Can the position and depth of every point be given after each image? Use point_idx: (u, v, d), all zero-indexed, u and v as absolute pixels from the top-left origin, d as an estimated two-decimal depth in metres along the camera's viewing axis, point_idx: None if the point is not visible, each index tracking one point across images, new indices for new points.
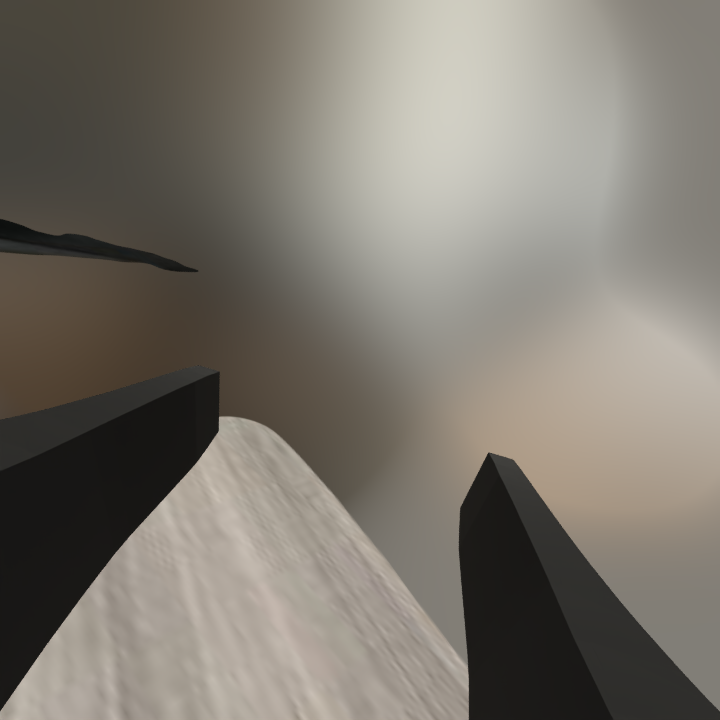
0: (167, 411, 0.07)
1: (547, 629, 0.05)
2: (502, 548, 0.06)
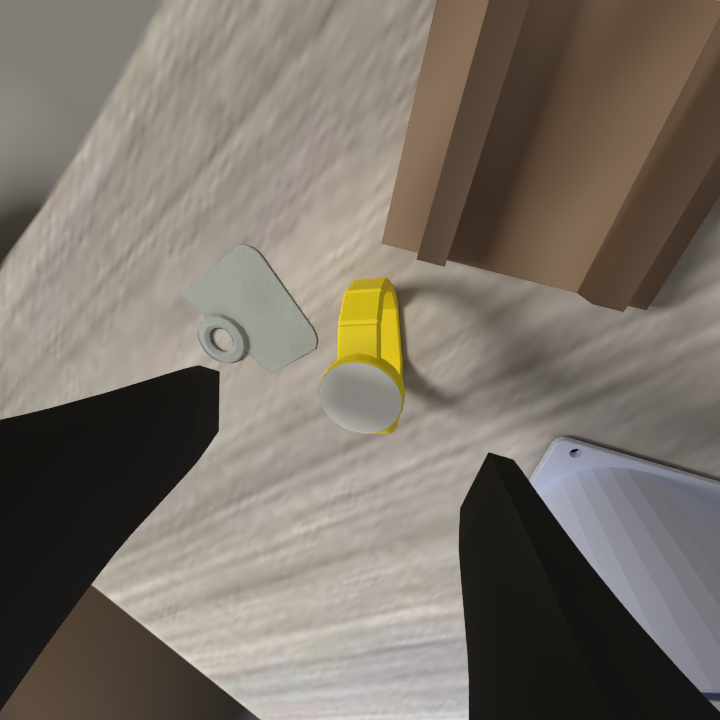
0: (167, 411, 0.07)
1: (547, 629, 0.05)
2: (502, 548, 0.06)
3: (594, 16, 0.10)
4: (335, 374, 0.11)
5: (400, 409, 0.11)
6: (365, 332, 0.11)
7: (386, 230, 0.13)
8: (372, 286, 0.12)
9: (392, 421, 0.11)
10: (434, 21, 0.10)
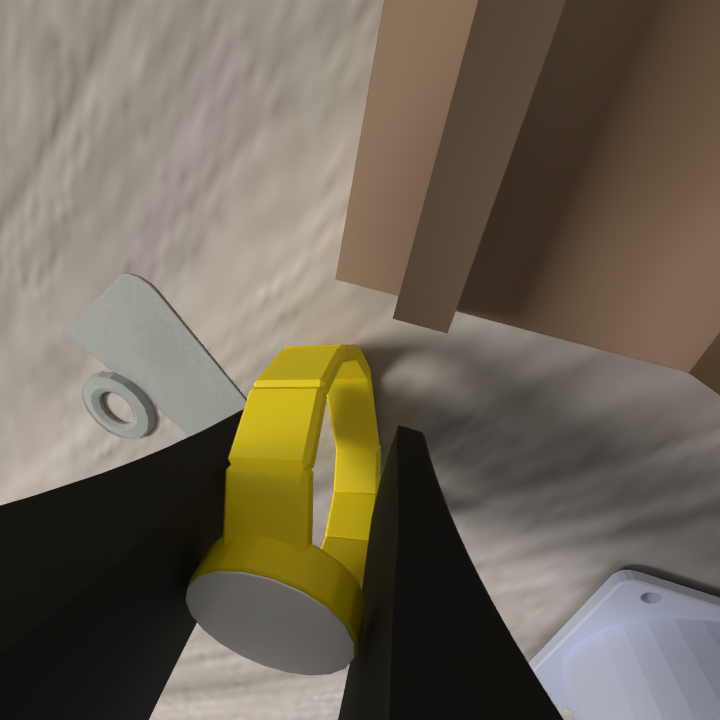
0: None
1: (389, 575, 0.05)
2: (387, 510, 0.07)
3: None
4: (211, 583, 0.05)
5: (353, 654, 0.05)
6: (277, 490, 0.05)
7: (342, 257, 0.07)
8: (306, 371, 0.06)
9: (338, 668, 0.05)
10: None
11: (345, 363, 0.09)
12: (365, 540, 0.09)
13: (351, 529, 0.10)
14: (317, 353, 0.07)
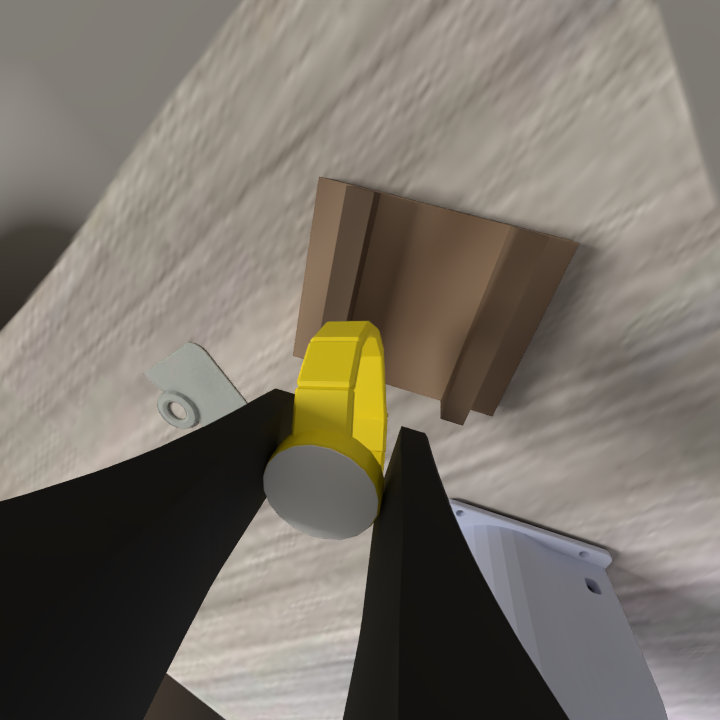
0: (261, 441, 0.07)
1: (394, 577, 0.05)
2: (390, 512, 0.07)
3: (424, 224, 0.13)
4: (286, 458, 0.08)
5: (376, 513, 0.08)
6: (331, 399, 0.08)
7: (295, 347, 0.17)
8: (348, 332, 0.09)
9: (364, 528, 0.08)
10: (315, 215, 0.14)
11: (367, 341, 0.11)
12: None
13: None
14: (353, 324, 0.10)
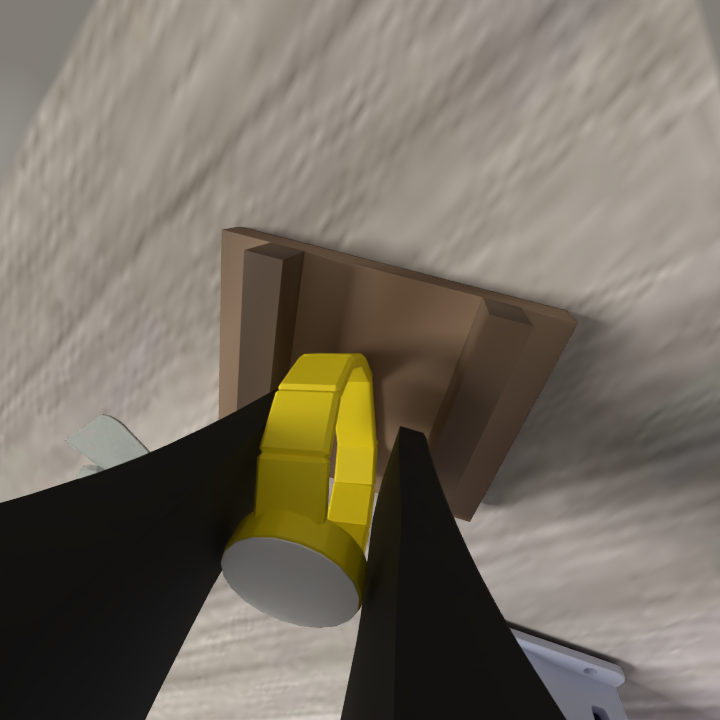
0: None
1: (391, 575, 0.05)
2: (388, 511, 0.07)
3: (366, 292, 0.10)
4: (245, 548, 0.06)
5: (357, 608, 0.06)
6: (301, 473, 0.06)
7: None
8: (323, 377, 0.07)
9: (344, 620, 0.07)
10: (223, 278, 0.10)
11: None
12: (362, 524, 0.11)
13: (349, 515, 0.11)
14: (331, 361, 0.08)
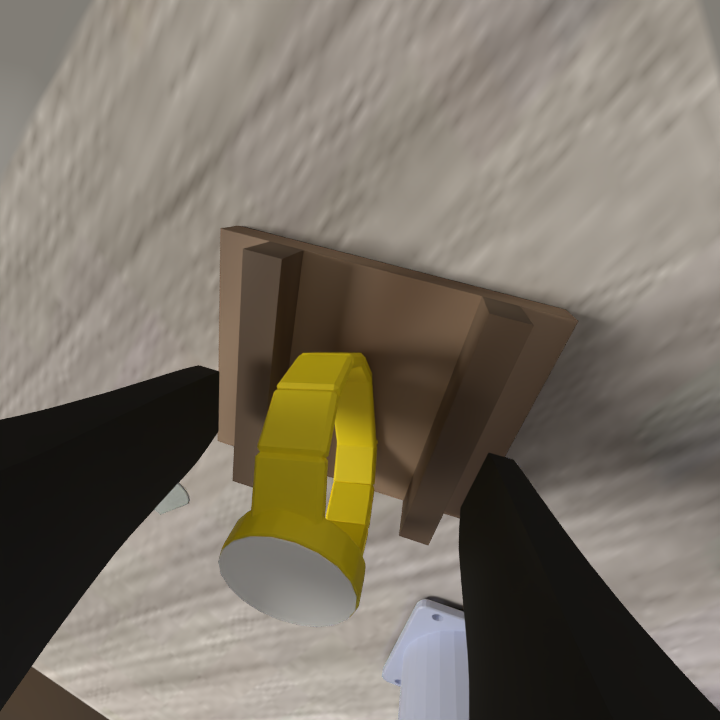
0: (167, 411, 0.07)
1: (547, 629, 0.05)
2: (502, 548, 0.06)
3: (365, 292, 0.10)
4: (242, 546, 0.06)
5: (354, 607, 0.06)
6: (298, 473, 0.06)
7: (219, 431, 0.13)
8: (322, 376, 0.07)
9: (341, 619, 0.07)
10: (222, 277, 0.10)
11: None
12: (361, 524, 0.10)
13: (348, 514, 0.11)
14: (330, 360, 0.08)
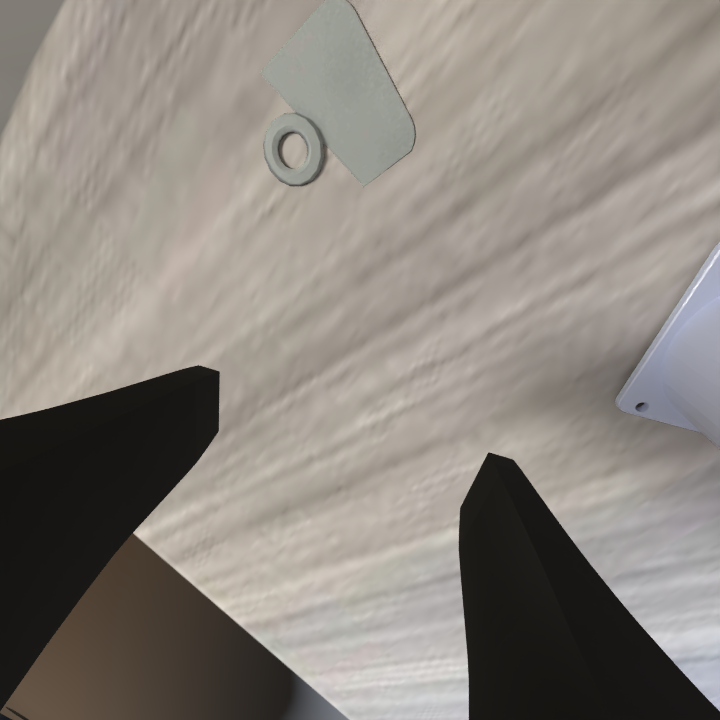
0: (167, 411, 0.07)
1: (547, 629, 0.05)
2: (502, 548, 0.06)
3: None
4: None
5: None
6: None
7: None
8: None
9: None
10: None
11: None
12: None
13: None
14: None
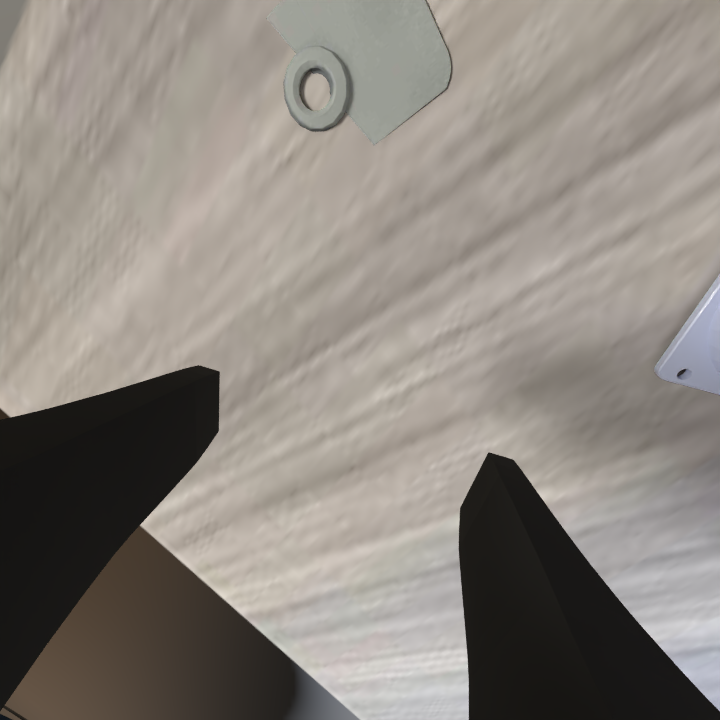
0: (168, 411, 0.07)
1: (547, 629, 0.05)
2: (502, 548, 0.06)
3: None
4: None
5: None
6: None
7: None
8: None
9: None
10: None
11: None
12: None
13: None
14: None
